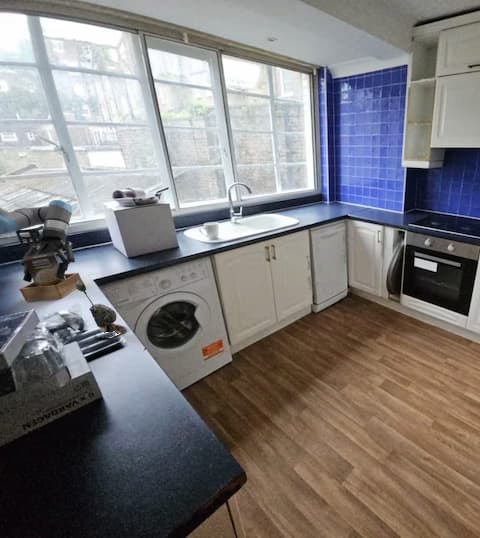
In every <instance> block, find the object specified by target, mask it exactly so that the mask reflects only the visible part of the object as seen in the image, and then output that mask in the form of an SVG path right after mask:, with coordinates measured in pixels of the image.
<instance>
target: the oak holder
mask: <svg viewBox="0 0 480 538" xmlns="http://www.w3.org/2000/svg"><path fill="white" fill-rule="evenodd" d="M65 278H66V279H65V280H63V281H62V282H60V283H58V284H57V285H50V286H41V287H36V285H35V283H34V281H32V282H30V283H29V284H27V285H25V286H23V287H21V288H19V291H20V293H21V295H22V297H23V298H24V301H25V302H26V303H30V302H40V301H50V300H58V299H64V298H65V297H67V296H68V295H69V294H71V293H72V292H74V291H76V290H77V289H76V281H77V280H78V279H81V280H82V278H81V275H80V273H79V272H71V273H65ZM73 290H74V291H73Z"/></svg>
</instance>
